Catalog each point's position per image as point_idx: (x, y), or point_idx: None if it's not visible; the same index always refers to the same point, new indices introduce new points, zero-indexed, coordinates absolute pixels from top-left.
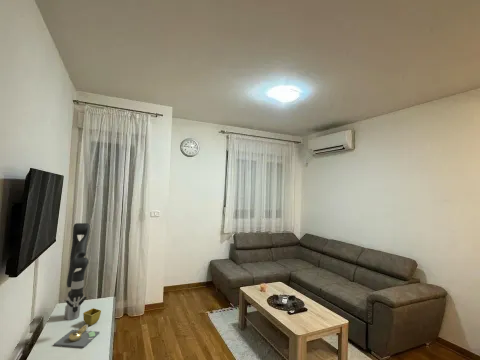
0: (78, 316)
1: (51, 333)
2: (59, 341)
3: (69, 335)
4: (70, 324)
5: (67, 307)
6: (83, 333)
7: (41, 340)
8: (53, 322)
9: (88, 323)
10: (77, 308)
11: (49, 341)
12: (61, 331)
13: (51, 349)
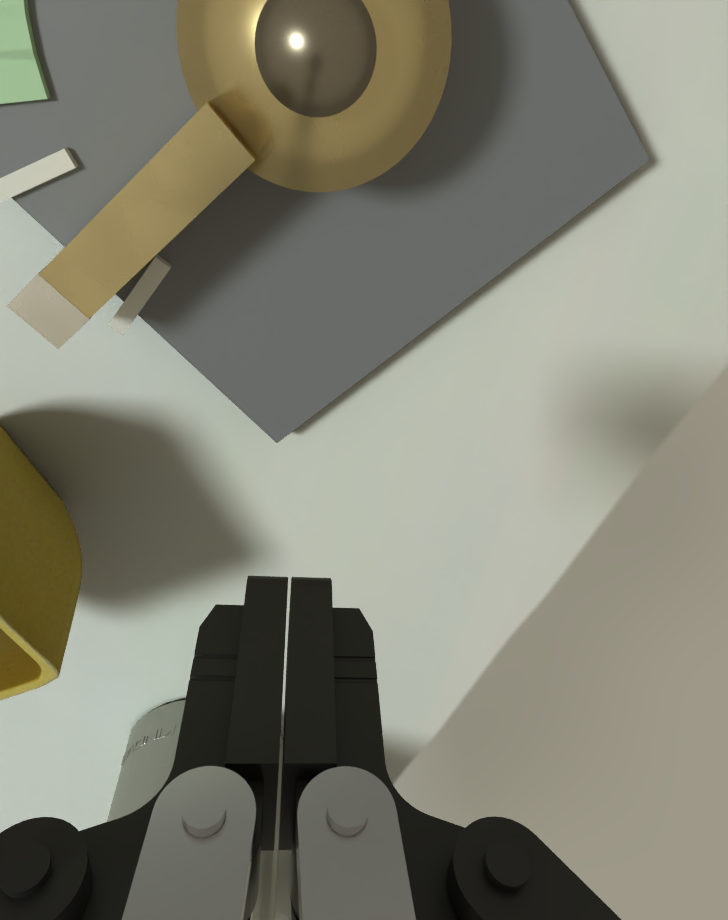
0: (142, 722)
1: (507, 535)
2: (551, 180)
3: (441, 77)
4: None
5: (271, 896)
6: (132, 172)
7: (661, 441)
8: (406, 736)
9: (18, 463)
10: (197, 686)
11: (610, 346)
12: (398, 512)
13: (709, 40)
